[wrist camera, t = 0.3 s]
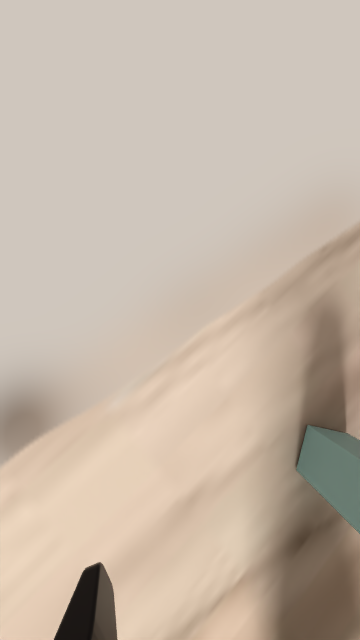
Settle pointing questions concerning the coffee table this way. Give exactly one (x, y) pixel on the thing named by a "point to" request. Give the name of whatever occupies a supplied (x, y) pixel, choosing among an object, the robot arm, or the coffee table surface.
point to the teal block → (333, 469)
